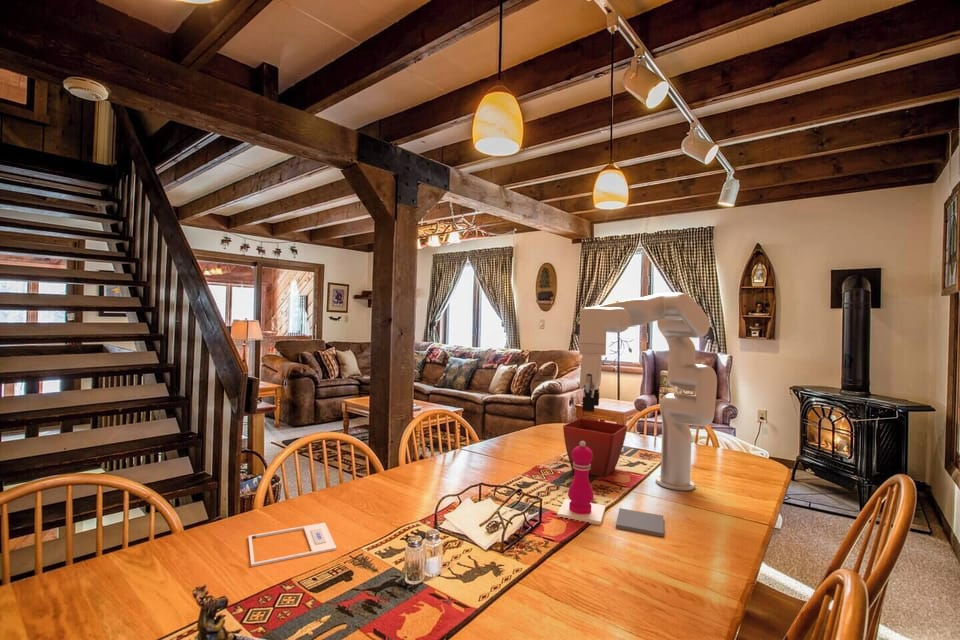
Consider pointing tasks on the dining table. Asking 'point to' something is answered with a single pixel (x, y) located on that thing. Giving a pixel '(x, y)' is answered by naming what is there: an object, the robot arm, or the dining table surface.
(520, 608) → the dining table surface
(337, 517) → the dining table surface
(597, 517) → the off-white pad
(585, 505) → the pepper mill
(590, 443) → the plant pot
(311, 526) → the photo frame
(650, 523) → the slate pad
